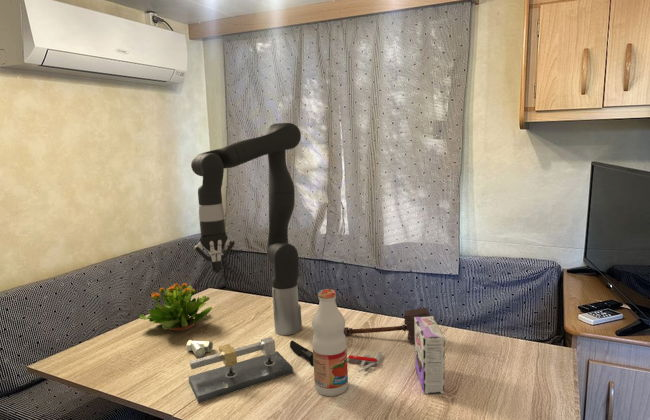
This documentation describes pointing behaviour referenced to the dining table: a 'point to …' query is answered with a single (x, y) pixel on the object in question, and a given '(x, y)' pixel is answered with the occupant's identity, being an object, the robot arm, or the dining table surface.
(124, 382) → the dining table surface
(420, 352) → the candy box
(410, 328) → the hammer
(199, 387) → the bolt hole plate
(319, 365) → the fruit juice
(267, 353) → the steel beam
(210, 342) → the pipe fitting
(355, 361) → the swiss army knife
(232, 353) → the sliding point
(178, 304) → the potted flower
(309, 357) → the electric trimmer
